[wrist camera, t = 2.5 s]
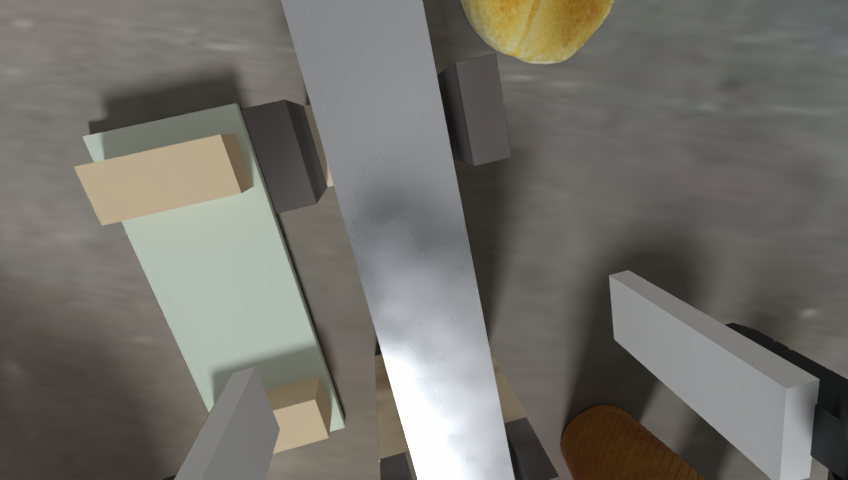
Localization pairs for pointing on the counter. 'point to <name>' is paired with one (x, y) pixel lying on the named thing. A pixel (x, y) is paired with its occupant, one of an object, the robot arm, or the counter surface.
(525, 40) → the bread roll
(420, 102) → the rail
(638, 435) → the disposable coffee cup
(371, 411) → the counter surface
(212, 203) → the rest pad
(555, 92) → the counter surface
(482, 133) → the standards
